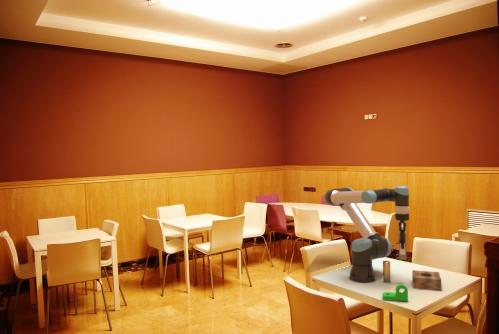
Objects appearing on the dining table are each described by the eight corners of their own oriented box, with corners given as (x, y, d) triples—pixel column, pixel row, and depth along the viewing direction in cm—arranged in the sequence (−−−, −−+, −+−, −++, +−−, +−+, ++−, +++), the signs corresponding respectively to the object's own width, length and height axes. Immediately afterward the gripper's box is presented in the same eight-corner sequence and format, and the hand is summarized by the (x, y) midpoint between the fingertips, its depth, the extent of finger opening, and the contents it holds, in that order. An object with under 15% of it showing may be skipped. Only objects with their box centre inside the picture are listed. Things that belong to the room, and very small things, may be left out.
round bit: (383, 282, 223) (382, 262, 222) (383, 280, 226) (383, 260, 226) (390, 283, 221) (390, 262, 221) (390, 281, 225) (390, 260, 224)
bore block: (413, 288, 212) (413, 277, 212) (412, 280, 225) (412, 270, 225) (441, 290, 207) (441, 279, 207) (438, 282, 220) (438, 272, 220)
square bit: (399, 259, 219) (398, 233, 219) (399, 257, 223) (398, 232, 222) (406, 259, 218) (406, 233, 217) (406, 258, 221) (406, 232, 221)
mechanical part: (405, 296, 201) (405, 281, 200) (408, 301, 195) (407, 285, 195) (381, 295, 203) (381, 280, 203) (383, 299, 197) (383, 284, 197)
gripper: (409, 215, 210) (410, 257, 211) (408, 211, 226) (409, 250, 227) (394, 215, 213) (395, 256, 214) (395, 210, 229) (395, 249, 229)
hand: (402, 253), depth 220 cm, fingers closed on square bit, 4 cm apart
